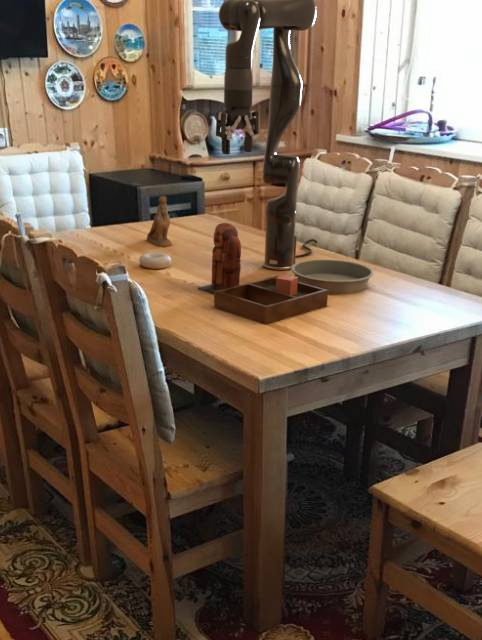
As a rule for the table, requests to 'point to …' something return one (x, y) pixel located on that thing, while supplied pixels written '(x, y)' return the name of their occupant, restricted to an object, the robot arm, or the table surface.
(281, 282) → the terracotta block
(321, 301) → the walnut tray
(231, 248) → the wooden figurine
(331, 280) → the cake pan
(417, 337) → the table surface
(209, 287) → the rubber mat
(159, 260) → the donut
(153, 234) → the worn brown figurine
